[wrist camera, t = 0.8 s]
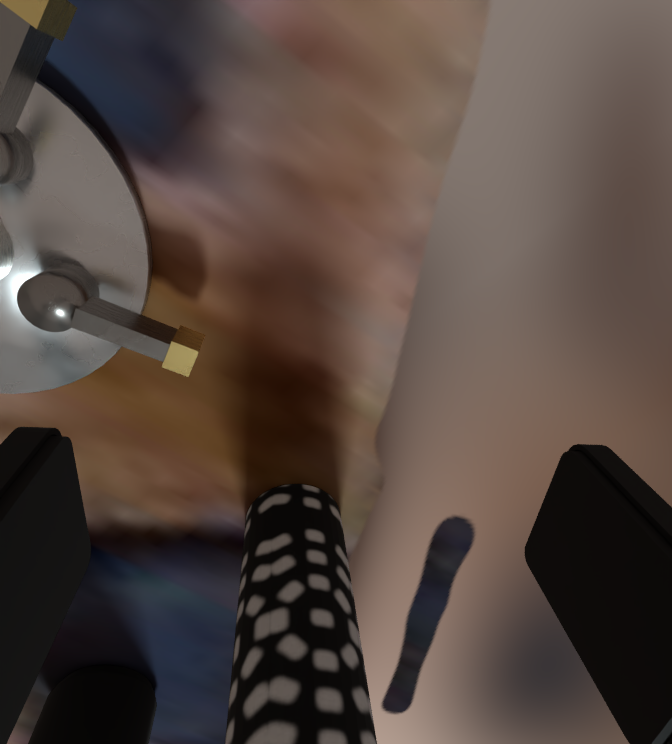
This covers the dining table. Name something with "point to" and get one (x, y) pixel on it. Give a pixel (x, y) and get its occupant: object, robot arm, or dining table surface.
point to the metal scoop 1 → (24, 71)
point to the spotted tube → (297, 628)
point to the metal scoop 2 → (102, 317)
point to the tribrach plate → (66, 241)
